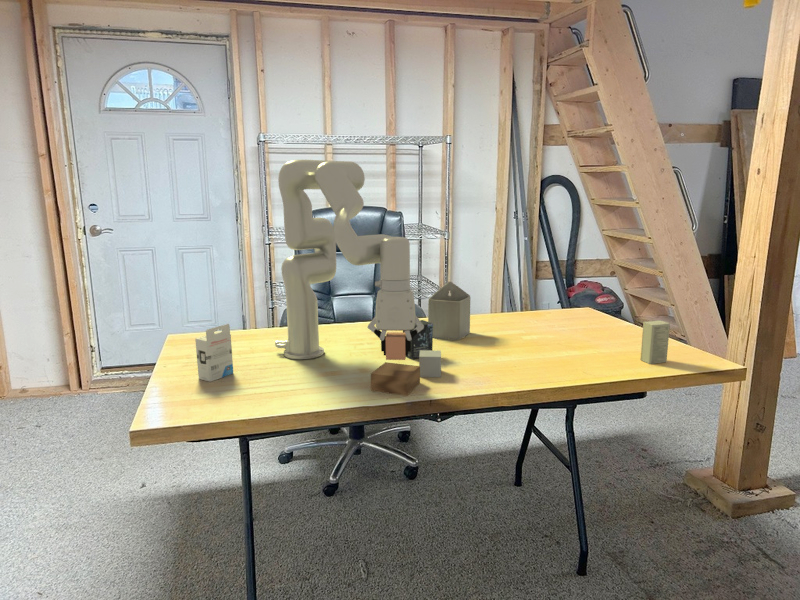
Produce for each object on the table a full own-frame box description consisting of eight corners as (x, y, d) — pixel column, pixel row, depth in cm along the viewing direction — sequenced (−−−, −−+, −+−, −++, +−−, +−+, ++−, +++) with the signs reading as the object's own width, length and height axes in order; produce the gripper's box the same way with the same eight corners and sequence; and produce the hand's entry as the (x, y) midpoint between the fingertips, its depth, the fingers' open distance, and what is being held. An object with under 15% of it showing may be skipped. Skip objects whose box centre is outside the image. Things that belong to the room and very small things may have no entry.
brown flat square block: (371, 391, 147) (370, 373, 146) (385, 379, 156) (385, 362, 155) (407, 396, 143) (406, 377, 142) (419, 383, 152) (419, 366, 151)
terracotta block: (385, 359, 145) (385, 337, 144) (387, 354, 150) (387, 332, 149) (405, 359, 145) (405, 337, 144) (406, 354, 150) (405, 332, 149)
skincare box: (657, 358, 172) (660, 319, 170) (667, 362, 168) (671, 323, 166) (639, 360, 171) (642, 321, 168) (649, 364, 167) (652, 324, 164)
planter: (437, 342, 191) (437, 286, 187) (427, 336, 198) (428, 282, 194) (479, 337, 197) (480, 283, 193) (469, 332, 204) (470, 279, 200)
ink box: (222, 370, 163) (218, 321, 160) (234, 373, 161) (230, 323, 158) (197, 379, 156) (193, 327, 153) (209, 382, 153) (205, 329, 150)
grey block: (419, 377, 157) (419, 356, 156) (419, 370, 163) (419, 350, 162) (440, 377, 157) (441, 356, 155) (440, 370, 162) (440, 350, 161)
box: (412, 360, 172) (412, 326, 170) (402, 355, 177) (402, 322, 175) (433, 355, 176) (433, 322, 174) (422, 351, 181) (422, 319, 179)
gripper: (360, 288, 141) (362, 358, 144) (428, 288, 140) (428, 358, 143) (363, 283, 148) (365, 349, 152) (428, 283, 147) (428, 350, 151)
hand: (396, 353), depth 147 cm, fingers closed on terracotta block, 5 cm apart
